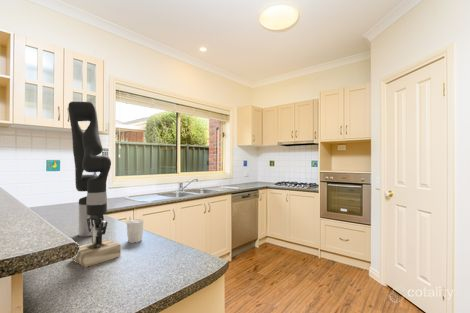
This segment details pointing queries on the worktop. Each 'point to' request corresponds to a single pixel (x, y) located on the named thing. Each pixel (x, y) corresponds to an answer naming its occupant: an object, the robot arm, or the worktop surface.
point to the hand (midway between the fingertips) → (96, 243)
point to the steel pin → (95, 239)
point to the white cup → (134, 230)
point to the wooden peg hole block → (97, 253)
